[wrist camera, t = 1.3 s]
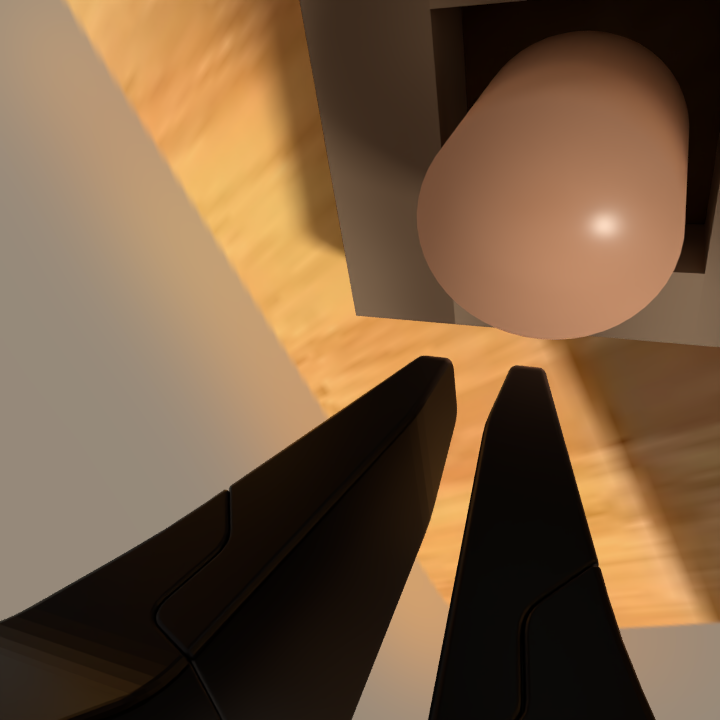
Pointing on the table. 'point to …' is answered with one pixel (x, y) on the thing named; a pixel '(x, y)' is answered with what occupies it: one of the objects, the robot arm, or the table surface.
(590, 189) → the button rust
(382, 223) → the wooden compartment tray
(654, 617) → the table surface
